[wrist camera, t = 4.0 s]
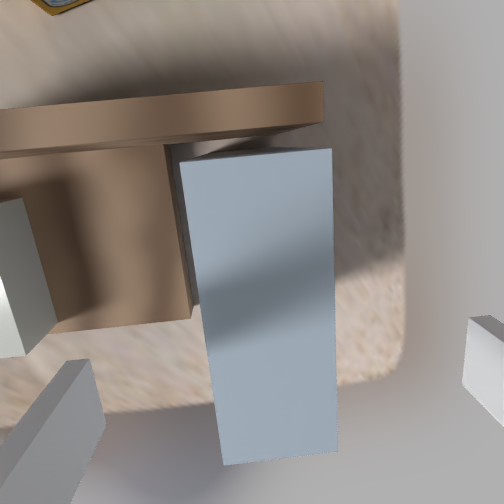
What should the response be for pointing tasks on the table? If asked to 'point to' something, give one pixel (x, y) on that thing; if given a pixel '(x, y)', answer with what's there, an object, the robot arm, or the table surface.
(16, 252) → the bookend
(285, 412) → the boxed book
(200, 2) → the table surface
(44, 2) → the game box
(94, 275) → the shelf
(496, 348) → the robot arm
